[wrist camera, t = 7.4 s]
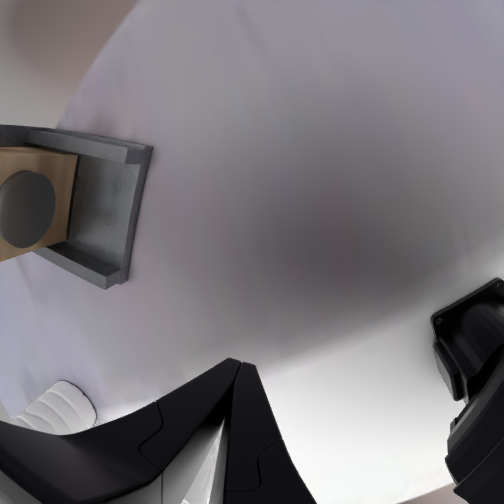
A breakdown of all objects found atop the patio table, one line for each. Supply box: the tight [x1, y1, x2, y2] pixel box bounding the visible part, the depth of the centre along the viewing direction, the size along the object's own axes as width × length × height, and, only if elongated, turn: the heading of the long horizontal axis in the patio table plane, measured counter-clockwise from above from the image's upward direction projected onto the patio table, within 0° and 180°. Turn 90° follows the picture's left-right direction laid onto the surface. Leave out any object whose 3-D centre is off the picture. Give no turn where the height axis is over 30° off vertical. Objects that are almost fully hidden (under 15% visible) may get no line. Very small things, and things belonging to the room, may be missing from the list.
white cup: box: [181, 422, 224, 504], centre depth 20 cm, size 8×8×10 cm
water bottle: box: [9, 381, 96, 435], centre depth 17 cm, size 9×6×25 cm
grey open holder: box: [0, 125, 152, 290], centre depth 18 cm, size 13×10×8 cm
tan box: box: [0, 147, 78, 262], centre depth 18 cm, size 6×7×8 cm
